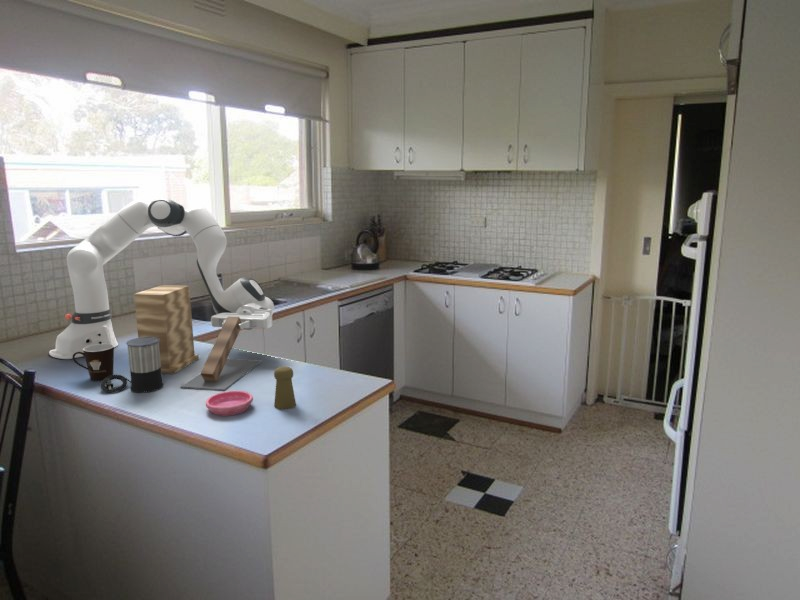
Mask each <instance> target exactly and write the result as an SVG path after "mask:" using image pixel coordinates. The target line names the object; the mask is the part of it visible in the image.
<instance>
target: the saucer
mask: <svg viewBox="0 0 800 600" xmlns="http://www.w3.org/2000/svg"><path fill="white" fill-rule="evenodd" d="M253 400H254V396H253V394H252V393H250V392H248V391H245V390H244V391H243V390H228V391H227V390H226V391H223V392H222V391H221V392H218V393H215V394H213V395H211V396H209V397H208V398H207V399H206V401H205V407H206V408H207V409H208V411H211V412H212V414H214V415H217V416H225V417H226V416H233V415H238V414H240V413H244V412H246V410H247V409H248V408H249V406H251V404H252V403H253Z"/></svg>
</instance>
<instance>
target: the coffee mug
mask: <svg viewBox="0 0 800 600" xmlns="http://www.w3.org/2000/svg"><path fill="white" fill-rule="evenodd" d="M114 351H115V347H114V345H112V344H96V345H91V346H87V347H85V348H84V349H83V352H84V353H83V352H76V353H74V354H73V358H72V361H73V362H74V363H75V364H76V365H78V366H79V367H81V368H83V369H84V370H87V372H88V374H89V378H90V381H91V382H102V380H103V379H105V378H106V377H108V376H110V375H114V364H115V363H114V362H115V361H114V360H115V358H114V357H115V356H114V354H115V352H114ZM76 354H82V355H83V356H82V357H84V359H85V362H86V366H85V365H83V364H81V363H79V362H78V361H77V360H76V358H75V355H76Z"/></svg>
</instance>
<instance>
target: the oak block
mask: <svg viewBox="0 0 800 600" xmlns="http://www.w3.org/2000/svg"><path fill="white" fill-rule="evenodd" d="M190 289H191V288H190V285H177V284H176V285H173V284H172V285H171V284H160V285H159V286H155V287H152V288H149V289H146V290H142V291H139V292H136V293H133V296H134V297H133V298H134V299H133V300H134V307H135V317H136V318H135V319H136V327H137V338H140V337H155V338H158V339H160V341H159V350H160V361H161V374H171V375H174V374H176V373H178V372H179V371H181V370H183V369H184V368H186V367H188V366H190V365H191V364H192V362H193V361H194V362H196V361H197V359H198V358H199V355H200V354H196V353H195V344H194V343H195V342H194V330H193V317H192V316H193V315H192V304H191V291H190ZM195 360H196V361H195ZM198 360H199V359H198ZM194 362H193V363H194ZM190 363H191V364H190ZM187 365H188V366H187ZM185 366H186V367H185ZM182 368H183V369H182Z"/></svg>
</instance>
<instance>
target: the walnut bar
mask: <svg viewBox="0 0 800 600" xmlns="http://www.w3.org/2000/svg"><path fill="white" fill-rule="evenodd" d="M238 323H241V320H240V318H239V317H229V316H228V317H227V319H226V321H225V323H224V325H223V327H221V329H220V332H219V334H218V336H217V338H216V340H215V342H214V343H213V346H212V348H211V350H210V353H209V355H208V357H206V358H207V359H206V360H205V362H204V365H203V367H202V368H201V370H200V372H199V373H200V374H201V375H202V377H203V379H204V381H207V382H217V380H218V378H219V376H220V374H221V372H222V369H223V367H224V365H225V363H226V360H227V359H229V358H228V357H229V356H230V353H231V351H232V350H233V347H234V345H235V343H236V340H237V338H238V336H239V334H240V331H241V329H237V324H238Z"/></svg>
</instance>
